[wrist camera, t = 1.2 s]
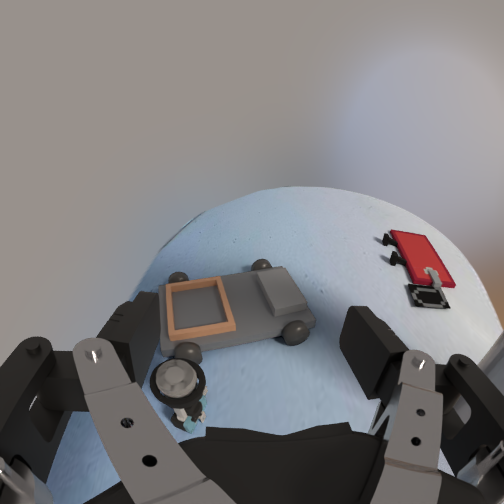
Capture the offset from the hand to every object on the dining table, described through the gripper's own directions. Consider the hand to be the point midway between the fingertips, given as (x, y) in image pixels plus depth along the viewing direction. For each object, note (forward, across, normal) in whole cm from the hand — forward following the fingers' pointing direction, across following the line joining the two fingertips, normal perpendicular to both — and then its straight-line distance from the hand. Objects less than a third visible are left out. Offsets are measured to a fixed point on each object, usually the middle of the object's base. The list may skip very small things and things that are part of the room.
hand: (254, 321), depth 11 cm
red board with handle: (+38, -41, +9) cm, 57 cm away
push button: (+12, +4, +21) cm, 25 cm away
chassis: (+28, 0, +16) cm, 32 cm away
